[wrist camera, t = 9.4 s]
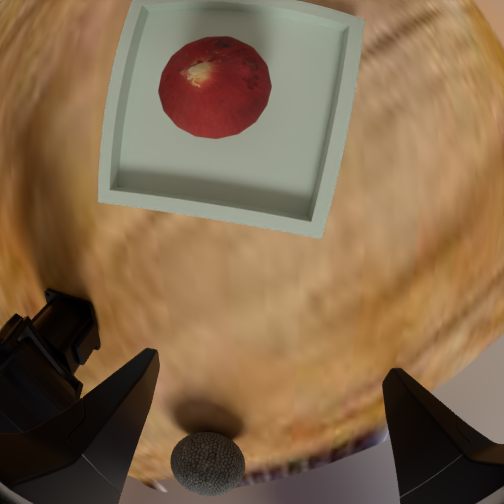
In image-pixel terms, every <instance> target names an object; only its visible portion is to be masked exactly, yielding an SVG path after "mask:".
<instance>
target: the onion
mask: <svg viewBox="0 0 504 504" xmlns="http://www.w3.org/2000/svg"><path fill="white" fill-rule="evenodd" d="M271 89H272V84H271V79H270V75H269V70H268V66H267V64H266V62H265V61H264V60H263V59H262V57H261V56H260V55H259V54H258V52H257V51H256V50H255V49H254V48H253V47H252V46H250V45H248V44H246V43H244V42H242V41H239V40H237V39H235V38H233V37H230V36H213V37H205V38H202V39H199V40H196V41H193V42H191V43H188V44H186V45H185V46H183V47H182V48H181V49H179V50H178V51H177V52H176V53H175V54H173V55H172V56H171V58H170V59H169V61H168V63H167V64H166V66H165V68H164V70H163V71H162V74H161V79H160V84H159V89H158V94H159V97H160V101H161V104H162V108H163V111H164V112H165V113H166V114H167V116H168V117H169V118H170V119H171V120H172V121H173V123H174V124H175V125H176V126H177V127H178V128H180V129H182V130H184V131H186V132H188V133H190V134H192V135H193V136H195V137H203V138H211V139H220V138H224V137H229V136H233V135H238V134H240V133H241V132H242V131H244V130H245V129H247V128H248V127H250V126H251V125H252V124H254V123H255V122H256V121H257V120H258V118H259V117H260V115H261V114H262V112H263V111H264V109H265V108H266V106H267V104H268V100H269V97H270V93H271Z"/></svg>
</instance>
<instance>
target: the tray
mask: <svg viewBox="0 0 504 504" xmlns="http://www.w3.org/2000/svg"><path fill="white" fill-rule="evenodd" d="M364 23H365V20H364V19H362V18H359V17H356V16H353V15H350V14H347V13H344V12H341V11H337V10H334V9H330V8H327V7H323V6H319V5H315V4H311V3H307V2H303V1H298V0H132V2H131V5H130V8H129V11H128V14H127V17H126V20H125V23H124V26H123V30H122V33H121V37H120V40H119V44H118V48H117V52H116V56H115V60H114V64H113V68H112V73H111V78H110V83H109V88H108V94H107V100H106V106H105V113H104V120H103V128H102V137H101V148H100V161H99V181H98V202H100V203H107V204H115V205H122V206H129V207H136V208H143V209H150V210H156V211H163V212H170V213H176V214H182V215H189V216H195V217H201V218H207V219H213V220H219V221H225V222H231V223H237V224H243V225H249V226H254V227H260V228H266V229H271V230H277V231H282V232H288V233H293V234H298V235H304V236H309V237H314V238H319V239H322V236H323V233H324V229H325V225H326V222H327V218H328V214H329V210H330V206H331V202H332V198H333V194H334V190H335V186H336V182H337V178H338V173H339V169H340V165H341V160H342V156H343V151H344V146H345V142H346V137H347V132H348V127H349V122H350V117H351V111H352V106H353V100H354V95H355V89H356V83H357V76H358V70H359V63H360V56H361V48H362V41H363V32H364ZM213 36H230V37H233V38H235V39H237V40H239V41H242V42H244V43H246V44H248V45H250V46H252V47H253V48H254V49H255V50H256V51H257V52H258V54H259V55H260V56H261V57H262V59H263V60H264V61H265V62H266V64H267V66H268V70H269V75H270V79H271V84H272V89H271V93H270V97H269V100H268V104H267V106H266V108H265V109H264V111H263V112H262V114H261V115H260V117H259V118H258V120H257V121H256V122H255V123H254V124H252V125H251V126H250V127H248V128H247V129H245V130H244V131H242V132H241V133H240V134H238V135H233V136H229V137H224V138H220V139H211V138H203V137H195V136H193V135H192V134H190V133H188V132H186V131H184V130H182V129H180V128H178V127H177V126H176V125H175V124H174V123H173V121H172V120H171V119H170V118H169V117H168V116H167V114H166V113H165V112H164V111H163V108H162V104H161V101H160V97H159V94H158V89H159V84H160V79H161V74H162V71H163V70H164V68H165V66H166V64H167V63H168V61H169V59H170V58H171V56H172V55H173V54H175V53H176V52H177V51H178V50H179V49H181V48H182V47H183V46H185V45H186V44H188V43H191V42H193V41H196V40H199V39H202V38H205V37H213Z"/></svg>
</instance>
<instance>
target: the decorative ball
mask: <svg viewBox="0 0 504 504" xmlns="http://www.w3.org/2000/svg"><path fill="white" fill-rule="evenodd" d="M171 469H172V472H173V474H174V476H175V478H176V479H177V481H178V482H179V483H180V484H181V485H182V486H184V487H185V488H186V489H188V490H189V491H191V492H193V493H196V494H199V495H204V496H216V495H221V494H224V493H227V492H229V491H230V490H232V489H233V488H235V487H236V486H237V485H238V484H239V483H240V481H241V480H242V478H243V475H244V472H245V460H244V456H243V454H242V452H241V450H240V449H239V447H238V446H237V445H236V444H235V443H234V442H233V441H232V440H230V439H229V438H227V437H225V436H223V435H220V434H217V433H213V432H198V433H194V434H191V435H188V436H186V437H185V438H183V439H182V440H181V441H179V442H178V444H177V445H176V446H175V448H174V449H173V452H172V454H171Z"/></svg>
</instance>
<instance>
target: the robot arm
mask: <svg viewBox="0 0 504 504" xmlns="http://www.w3.org/2000/svg"><path fill="white" fill-rule="evenodd" d="M45 296H46V300H47V304H46V305H45V306H44V307H43V308H42V309H41V310H40V312H39V313H38V314H37V315H36V316H35V317H34V318H33V319H32V320H31V319H30V318H29V316H26V317H24V318H22V316H20V315H18V314H17V313H16V314H14V315H13V316H12V317H11V318H10V319H9V320H8V321H7V322H6V323H5V324H4V326H3V327H2V328H1V330H0V504H118V503H119V499H120V496H121V493H122V490H123V486H124V483H125V480H126V477H127V474H128V471H129V468H130V465H131V462H132V459H133V456H134V453H135V450H136V447H137V444H138V441H139V438H140V435H141V432H142V429H143V427H144V424H145V421H146V418H147V415H148V413H149V410H150V407H151V404H152V399H153V395H154V391H155V386H156V382H157V378H158V374H159V369H160V363H159V355H158V351H157V350H156V349H151V348H146V349H144V350H143V351H142V352H140V353H139V354H138V355H137V356H135V357H134V358H133V359H131V360H130V361H129V362H128V363H126V364H125V365H124V366H122V367H121V368H120V369H119V370H117V371H116V372H115V373H113V374H112V375H111V376H110V377H108V378H107V379H106V380H104V381H103V382H102V383H100V384H99V385H98V386H97V387H95V388H94V389H93V390H91V391H90V392H89V393H87V394H86V395H85V396H84V397H83V398H81V399H80V395H81V392H82V388H83V384H82V383H81V382H80V381H78V379H77V378H76V377H75V376H74V373H75V372H76V370H77V369H78V367H79V365H84V364H85V362H86V361H87V359H88V358H89V356H90V354H91V353H92V351H93V350H94V349H95V350H99V349H100V347H101V346H100V341H99V336H98V331H97V326H96V323H95V318H94V312H93V307H92V304H91V303H90V302H88V301H86V300H82V299H79V298H76V297H73V296H69V295H66V294H63V293H60V292H57V291H54V290H51V289H47V290H46V291H45ZM382 388H383V396H384V404H385V413H386V419H387V424H388V429H389V434H390V439H391V444H392V450H393V455H394V460H395V467H396V473H397V481H398V488H399V495H400V504H504V444H497V443H494V442H492V441H491V440H489V439H488V438H486V437H485V436H483V435H482V434H481V433H479V432H478V431H476V430H475V429H474V428H472V427H471V426H469V425H468V424H467V423H466V422H464V421H463V420H462V419H461V418H459V417H458V416H457V415H455V414H454V412H452V411H451V410H450V409H449V408H448V407H446V406H445V405H444V404H443V403H442V402H441V401H439V400H438V399H437V398H436V397H435V396H434V395H432V394H431V393H430V392H429V391H428V390H426V389H425V388H424V387H423V386H422V385H421V384H419V383H418V382H417V381H416V380H415V379H413V378H412V377H411V376H410V375H409V374H407V373H406V372H405V371H404V370H403V369H401V368H392V369H391V370H390V371H389V373H388V374H387V376H386V377H385V379H384V381H383V384H382Z"/></svg>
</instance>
